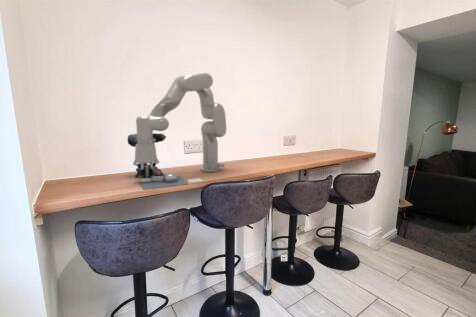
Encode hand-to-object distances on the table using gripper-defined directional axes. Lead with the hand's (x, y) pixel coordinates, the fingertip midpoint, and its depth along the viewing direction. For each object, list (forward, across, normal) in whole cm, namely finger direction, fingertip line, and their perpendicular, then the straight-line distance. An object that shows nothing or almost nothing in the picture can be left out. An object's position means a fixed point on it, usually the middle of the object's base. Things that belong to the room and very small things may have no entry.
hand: (147, 175), depth 125 cm
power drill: (+3, -4, -11) cm, 12 cm away
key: (+2, 0, 0) cm, 2 cm away
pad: (+3, -23, +10) cm, 25 cm away
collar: (+3, -6, +2) cm, 7 cm away
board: (+3, -7, +4) cm, 9 cm away
